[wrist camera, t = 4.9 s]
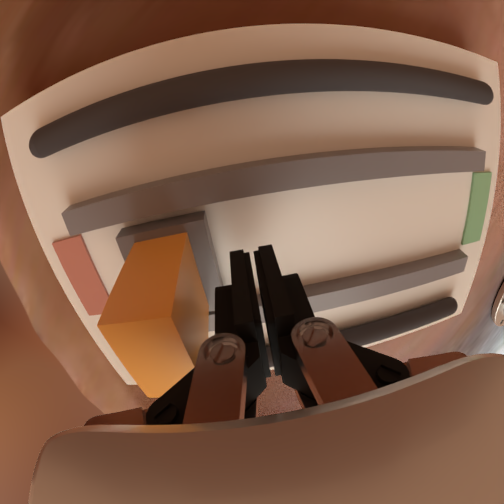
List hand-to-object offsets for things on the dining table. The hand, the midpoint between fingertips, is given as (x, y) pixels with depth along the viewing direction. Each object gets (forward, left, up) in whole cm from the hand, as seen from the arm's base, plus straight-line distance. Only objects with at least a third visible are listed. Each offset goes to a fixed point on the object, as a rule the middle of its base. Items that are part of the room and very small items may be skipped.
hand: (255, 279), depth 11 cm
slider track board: (-3, 0, -6) cm, 6 cm away
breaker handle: (+4, 0, -2) cm, 4 cm away
